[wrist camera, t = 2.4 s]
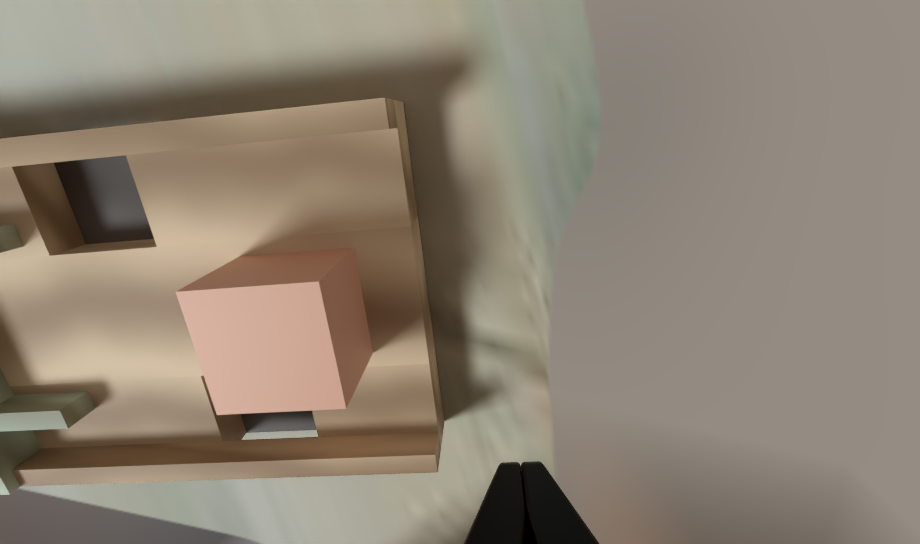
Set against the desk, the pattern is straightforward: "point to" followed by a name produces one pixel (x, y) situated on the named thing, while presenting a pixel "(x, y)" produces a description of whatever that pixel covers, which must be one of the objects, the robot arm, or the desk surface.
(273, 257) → the block
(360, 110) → the board
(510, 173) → the desk surface
